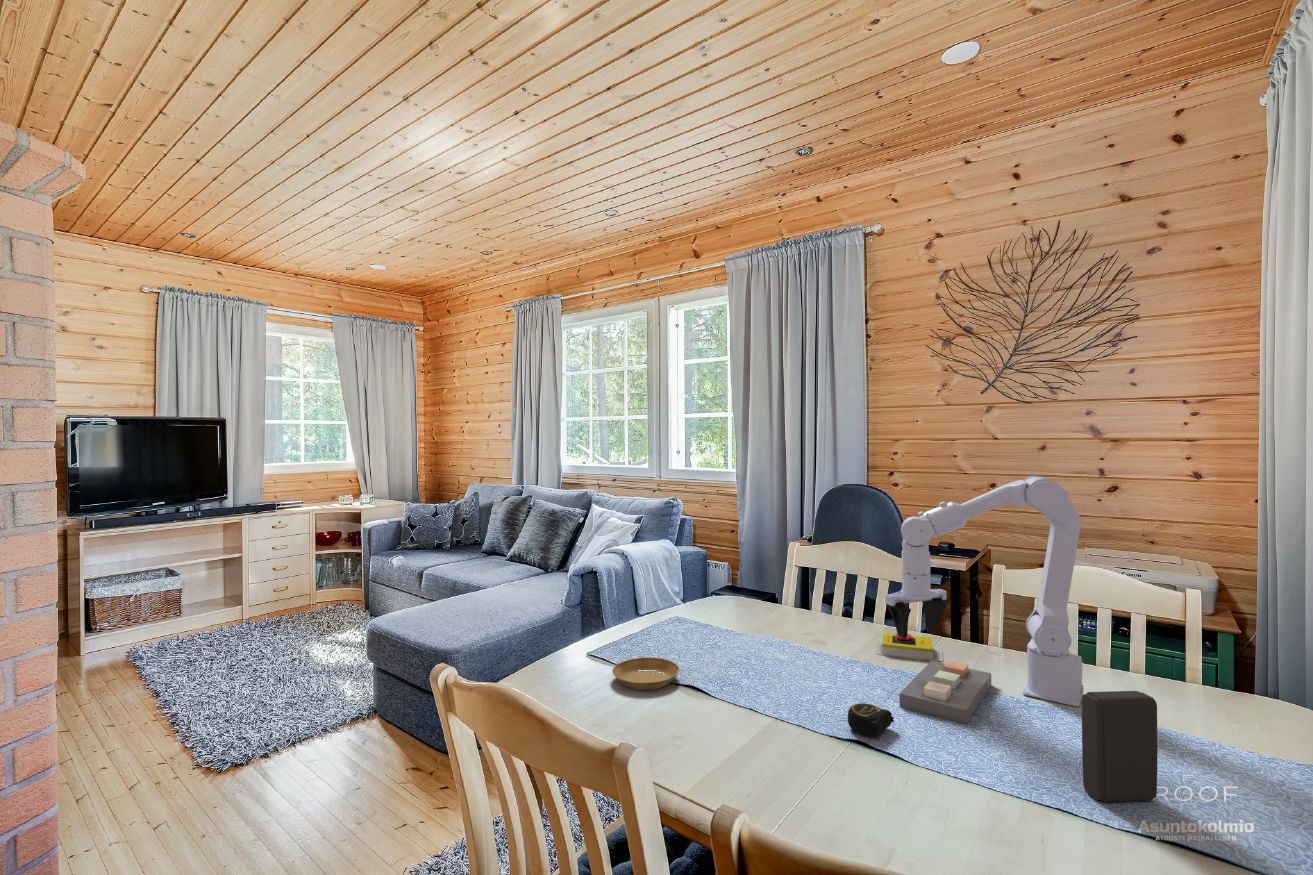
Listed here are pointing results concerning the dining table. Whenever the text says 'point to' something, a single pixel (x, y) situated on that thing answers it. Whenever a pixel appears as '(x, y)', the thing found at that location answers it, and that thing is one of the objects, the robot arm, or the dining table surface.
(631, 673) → the plant saucer
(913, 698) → the button panel
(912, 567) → the robot arm
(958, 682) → the sage button
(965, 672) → the terracotta button
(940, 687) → the cream button
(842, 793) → the dining table surface
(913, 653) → the emergency button
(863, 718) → the tape measure
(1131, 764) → the dark brown upright block
